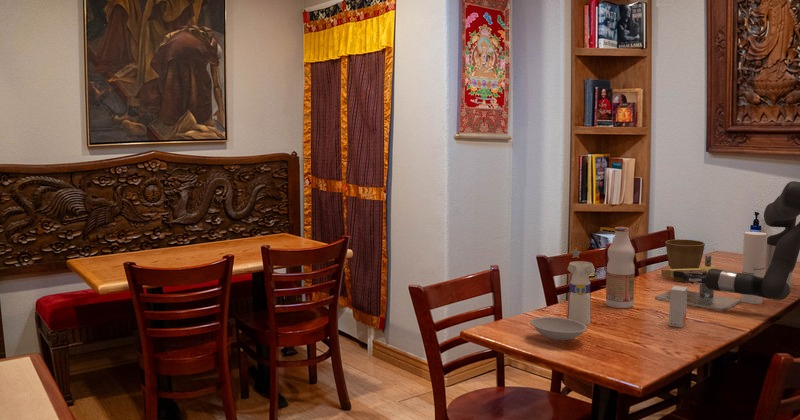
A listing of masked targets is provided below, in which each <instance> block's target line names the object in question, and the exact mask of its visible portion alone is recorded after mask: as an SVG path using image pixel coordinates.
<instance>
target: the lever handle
mask: <svg viewBox="0 0 800 420" xmlns="http://www.w3.org/2000/svg"><path fill="white" fill-rule="evenodd" d="M710 269H716V266H715V265H712V264H711V266H706V265H705V264H700V267H699V268H697V269H671V268H661V277H663V278H674V277H673V272H674V271H682V272H687V271H688V272H689V271H706V272H707V273H708V271H709V270H710Z"/></svg>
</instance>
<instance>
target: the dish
mask: <svg viewBox="0 0 800 420" xmlns="http://www.w3.org/2000/svg"><path fill="white" fill-rule="evenodd" d="M529 323H530V325H531V326H532V327H534V329H535V330H536V331H537V333H539V334H541V335H542V336H543V337H546V338H548V339H551V340H554V341H556V342H561V341H570V340H573V339H574V340H575V339H576V338H577V337H579V336H581V335H582V334H583V333H584V332H586V331H587V330H588V326H587V325H585V324H583V323H581V322H578V321H575V320H571V319H567V318H564V317H563V318H562V317H555V316H540V317H536V318H533V319H531V320H530V321H529Z"/></svg>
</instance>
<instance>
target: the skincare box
mask: <svg viewBox="0 0 800 420" xmlns="http://www.w3.org/2000/svg"><path fill="white" fill-rule="evenodd" d="M670 291H671V293H670V302H669V314H668V315H669V316H668V317H669V318H668V326H670V327H675V328H676V327H677V328H683V327H684V325H686V322H687V321H686V320H687V306H688V305H687V291H688V287H687V286H678V285H674V286H672V288H671V289H670Z"/></svg>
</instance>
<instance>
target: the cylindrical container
mask: <svg viewBox="0 0 800 420" xmlns="http://www.w3.org/2000/svg"><path fill="white" fill-rule="evenodd" d="M767 237H768V236H767V233H766V232H759V231H744V234H743V249H742V264H741V265H742V267H741V273H744V274H751V275H754V276H757V277H762V278H764V275H765V266H766V249H767ZM763 299H764V298H763V297H759V296H755V295H745V294H740V300H741V302H742V303H745V304H751V305H753V304H754V305H759V304H760V305H761V304H763V302H764V300H763Z"/></svg>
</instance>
